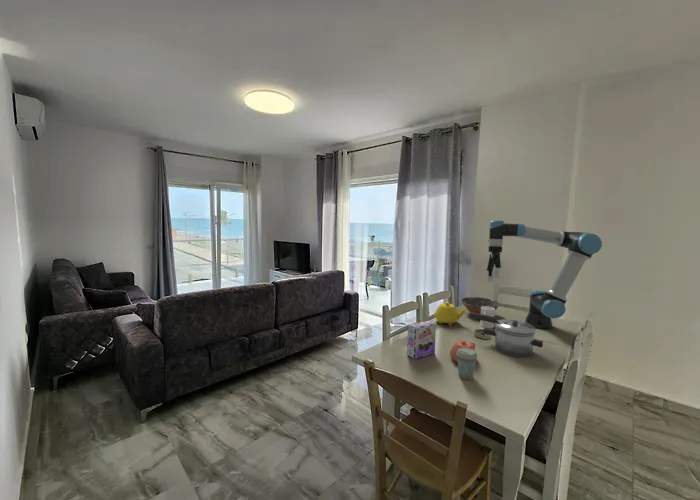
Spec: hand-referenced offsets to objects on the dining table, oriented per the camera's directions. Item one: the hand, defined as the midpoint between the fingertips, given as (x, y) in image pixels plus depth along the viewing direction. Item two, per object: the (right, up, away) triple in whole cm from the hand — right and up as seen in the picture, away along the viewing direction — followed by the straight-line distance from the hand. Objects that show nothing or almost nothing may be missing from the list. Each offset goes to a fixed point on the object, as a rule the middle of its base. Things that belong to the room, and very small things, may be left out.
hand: (493, 279), depth 188 cm
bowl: (+4, -29, +30) cm, 42 cm away
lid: (-7, -22, -24) cm, 33 cm away
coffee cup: (-38, -38, -54) cm, 76 cm away
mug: (-1, -31, +7) cm, 32 cm away
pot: (-2, -35, -27) cm, 44 cm away
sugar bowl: (-33, -36, -38) cm, 62 cm away
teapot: (-23, -31, +14) cm, 40 cm away
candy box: (-53, -36, -33) cm, 72 cm away
